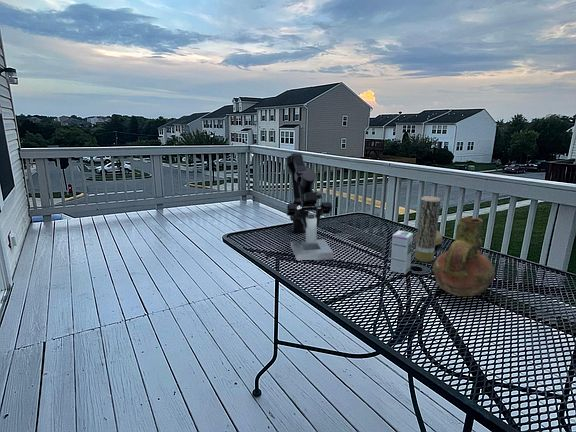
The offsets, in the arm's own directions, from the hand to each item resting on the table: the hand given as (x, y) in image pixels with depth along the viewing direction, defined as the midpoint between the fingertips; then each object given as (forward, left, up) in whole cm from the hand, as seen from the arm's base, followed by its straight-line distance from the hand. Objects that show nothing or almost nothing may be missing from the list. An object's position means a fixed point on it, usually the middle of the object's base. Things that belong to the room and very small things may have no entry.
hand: (311, 226), depth 131 cm
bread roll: (+9, +51, -12) cm, 54 cm away
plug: (-1, 0, -7) cm, 7 cm away
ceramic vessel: (+44, +34, -12) cm, 57 cm away
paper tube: (+20, +40, -12) cm, 47 cm away
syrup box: (+25, +25, -12) cm, 37 cm away
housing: (-1, 0, -12) cm, 12 cm away
